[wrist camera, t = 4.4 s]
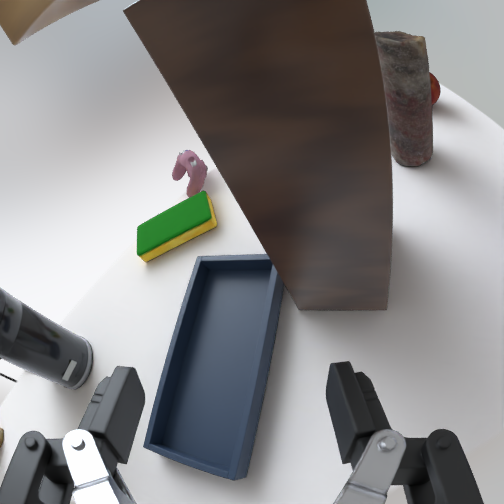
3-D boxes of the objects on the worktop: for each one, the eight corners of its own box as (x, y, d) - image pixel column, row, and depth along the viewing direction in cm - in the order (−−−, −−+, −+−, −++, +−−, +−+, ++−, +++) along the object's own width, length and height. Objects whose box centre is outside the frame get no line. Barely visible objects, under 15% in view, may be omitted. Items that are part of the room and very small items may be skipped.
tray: (158, 448, 29) (142, 446, 26) (207, 267, 42) (197, 256, 39) (246, 477, 24) (234, 480, 22) (287, 266, 37) (280, 253, 35)
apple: (415, 116, 45) (412, 79, 39) (398, 98, 49) (394, 64, 43) (446, 111, 43) (445, 75, 37) (427, 93, 47) (425, 61, 41)
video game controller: (212, 194, 53) (211, 158, 49) (188, 200, 51) (186, 164, 47) (192, 175, 60) (190, 143, 55) (171, 180, 58) (168, 148, 53)
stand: (298, 309, 33) (121, 10, 9) (309, 226, 39) (205, -20, 15) (386, 310, 29) (342, -68, 5) (383, 222, 35) (331, -53, 11)
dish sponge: (144, 234, 52) (136, 226, 50) (210, 198, 50) (204, 189, 48) (145, 263, 47) (136, 255, 45) (218, 226, 46) (211, 216, 44)
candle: (382, 143, 44) (363, 29, 28) (420, 136, 41) (410, 25, 26) (398, 171, 39) (384, 43, 24) (439, 164, 37) (438, 39, 22)
